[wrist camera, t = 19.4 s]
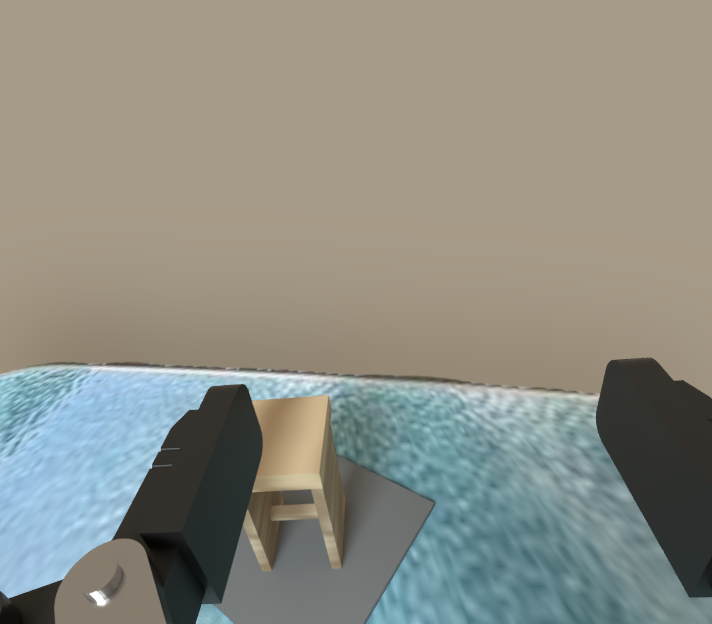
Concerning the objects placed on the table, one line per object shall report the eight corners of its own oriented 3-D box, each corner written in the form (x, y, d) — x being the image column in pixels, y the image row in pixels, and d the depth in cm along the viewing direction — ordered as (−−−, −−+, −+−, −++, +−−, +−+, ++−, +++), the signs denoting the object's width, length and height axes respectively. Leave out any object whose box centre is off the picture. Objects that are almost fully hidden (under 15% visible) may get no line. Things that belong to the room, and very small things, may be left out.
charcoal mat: (299, 437, 47) (298, 435, 47) (434, 505, 38) (434, 503, 38) (172, 567, 36) (170, 564, 36) (320, 701, 28) (318, 698, 28)
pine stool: (348, 494, 40) (328, 395, 34) (344, 576, 34) (319, 473, 28) (275, 498, 41) (242, 401, 34) (258, 579, 34) (215, 479, 28)
